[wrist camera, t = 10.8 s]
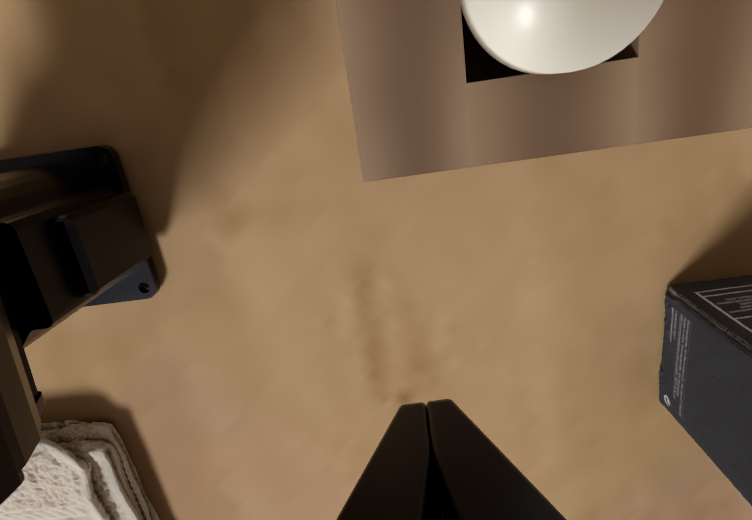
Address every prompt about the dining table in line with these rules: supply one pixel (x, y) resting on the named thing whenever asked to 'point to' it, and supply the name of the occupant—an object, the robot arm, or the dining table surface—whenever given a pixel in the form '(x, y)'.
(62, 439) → the washcloth
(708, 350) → the small box
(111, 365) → the dining table surface
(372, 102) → the mount
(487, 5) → the knob
